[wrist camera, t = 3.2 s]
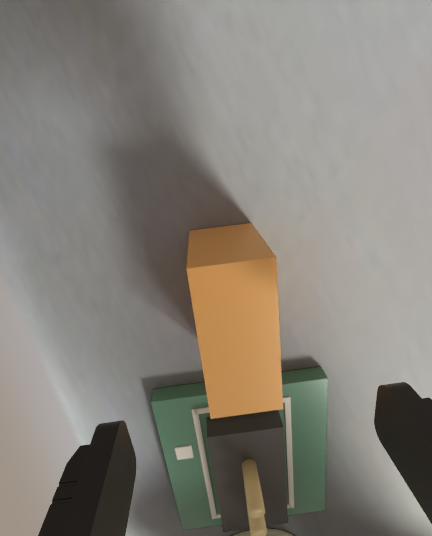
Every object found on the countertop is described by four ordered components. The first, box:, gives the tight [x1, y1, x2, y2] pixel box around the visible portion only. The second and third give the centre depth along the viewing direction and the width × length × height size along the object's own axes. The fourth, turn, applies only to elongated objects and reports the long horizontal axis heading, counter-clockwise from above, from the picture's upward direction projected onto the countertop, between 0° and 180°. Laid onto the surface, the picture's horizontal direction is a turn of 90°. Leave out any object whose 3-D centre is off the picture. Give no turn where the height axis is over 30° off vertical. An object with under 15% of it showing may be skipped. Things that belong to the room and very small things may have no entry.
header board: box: [151, 367, 328, 536], centre depth 22 cm, size 12×14×6 cm
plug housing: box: [186, 223, 283, 419], centre depth 17 cm, size 4×8×6 cm, turn 7°
